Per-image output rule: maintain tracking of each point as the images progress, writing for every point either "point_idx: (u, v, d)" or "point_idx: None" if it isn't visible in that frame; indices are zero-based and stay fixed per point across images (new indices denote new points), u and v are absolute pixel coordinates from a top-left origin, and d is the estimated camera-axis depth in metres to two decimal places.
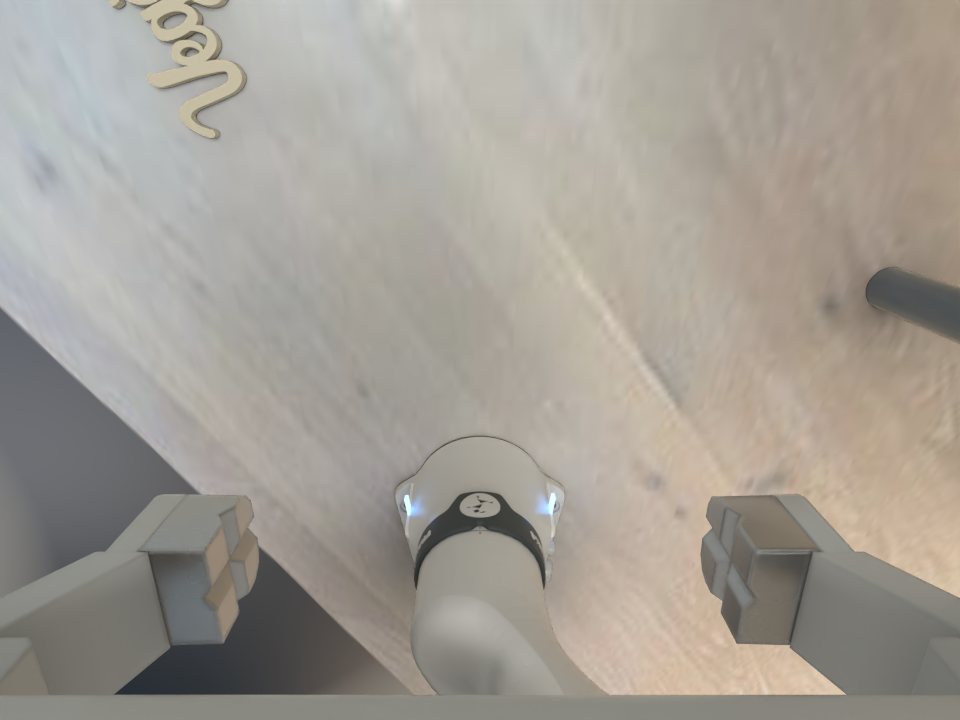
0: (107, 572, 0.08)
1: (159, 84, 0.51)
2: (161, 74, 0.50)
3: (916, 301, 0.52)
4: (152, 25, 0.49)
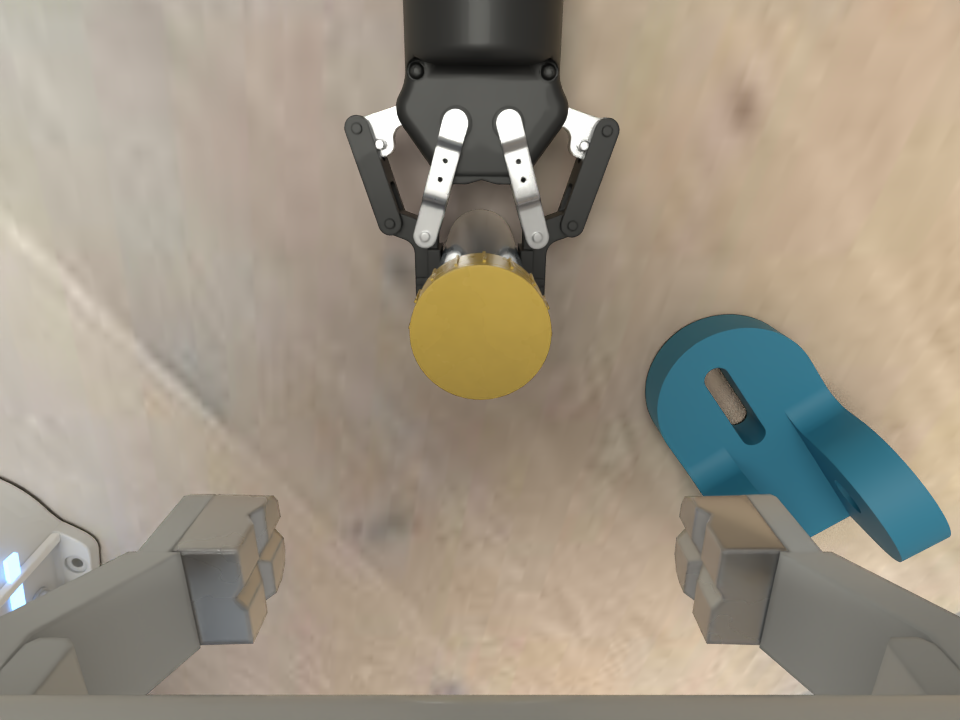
0: (141, 572, 0.08)
1: None
2: None
3: None
4: None
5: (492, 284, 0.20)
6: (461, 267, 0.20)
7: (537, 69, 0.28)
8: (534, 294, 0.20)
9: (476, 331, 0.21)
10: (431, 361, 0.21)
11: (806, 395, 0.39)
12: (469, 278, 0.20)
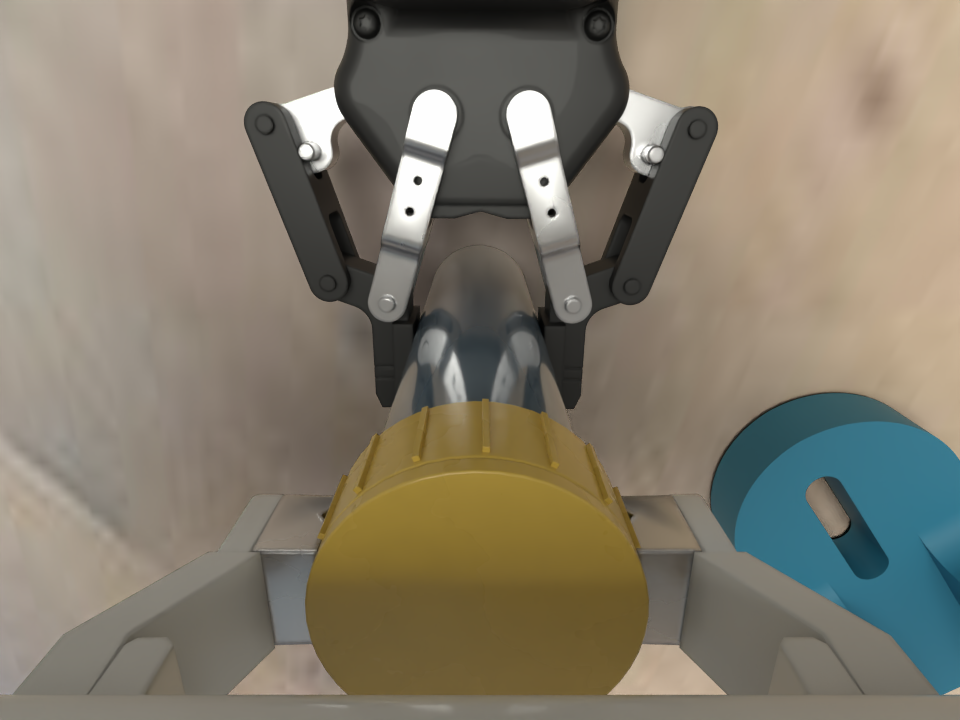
0: (225, 572, 0.08)
1: None
2: None
3: None
4: None
5: (507, 514, 0.08)
6: (428, 475, 0.08)
7: (578, 21, 0.16)
8: (612, 536, 0.08)
9: (467, 612, 0.08)
10: (361, 671, 0.09)
11: (952, 514, 0.27)
12: (448, 501, 0.08)
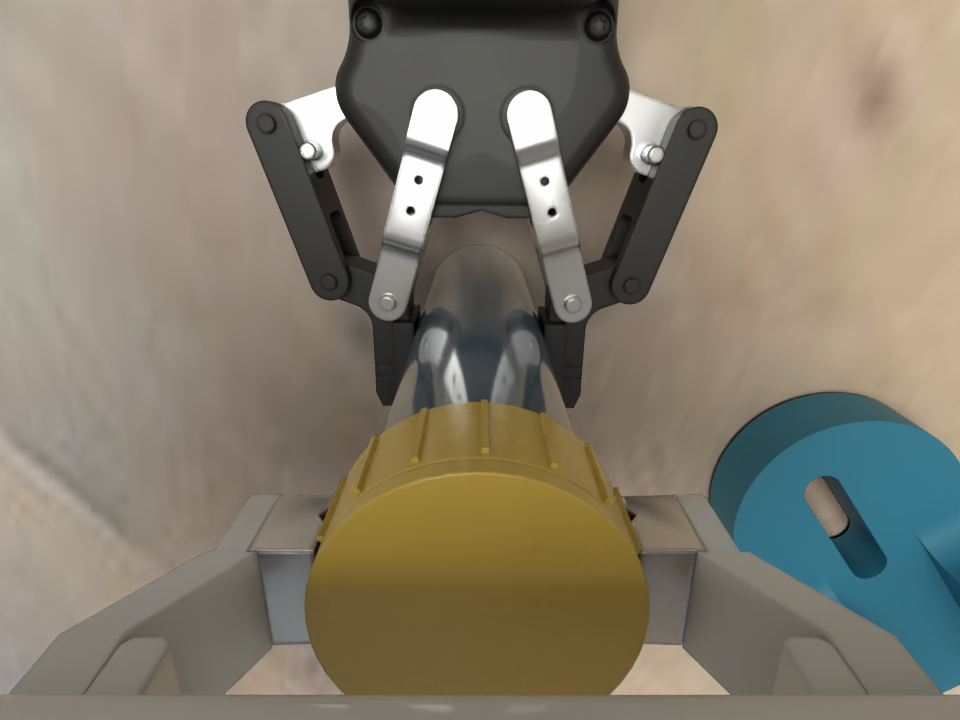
0: (221, 572, 0.08)
1: None
2: None
3: None
4: None
5: (365, 562, 0.08)
6: (305, 603, 0.08)
7: (578, 21, 0.16)
8: (424, 488, 0.08)
9: (464, 626, 0.09)
10: None
11: (950, 513, 0.27)
12: (334, 599, 0.08)
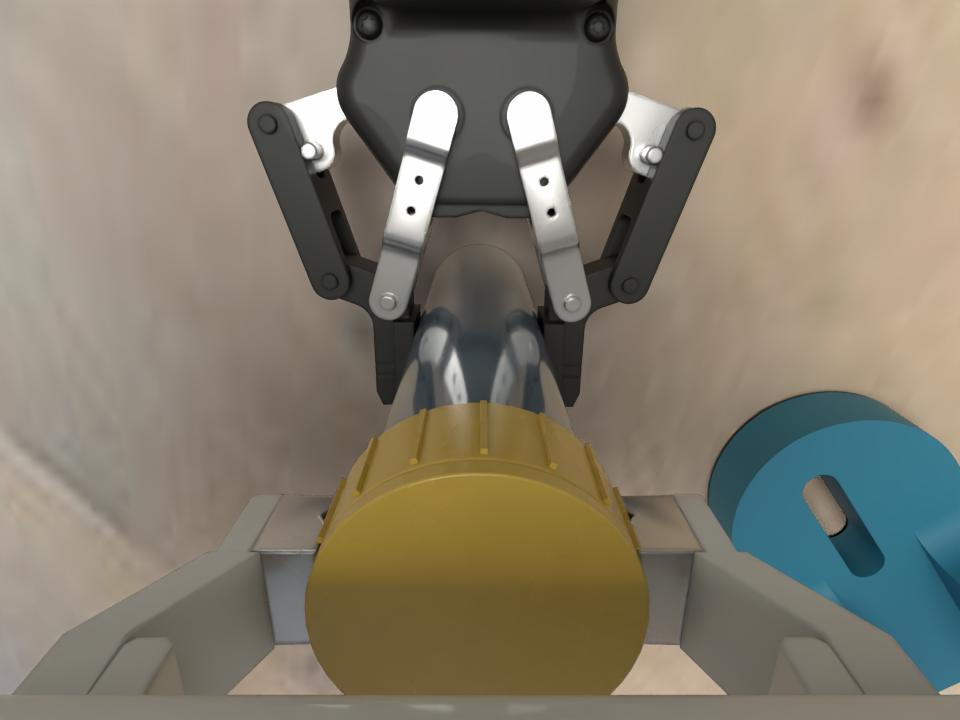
0: (224, 572, 0.08)
1: None
2: None
3: None
4: None
5: (373, 676, 0.09)
6: None
7: (578, 23, 0.16)
8: (312, 612, 0.08)
9: (477, 633, 0.09)
10: (608, 650, 0.09)
11: (947, 512, 0.27)
12: None
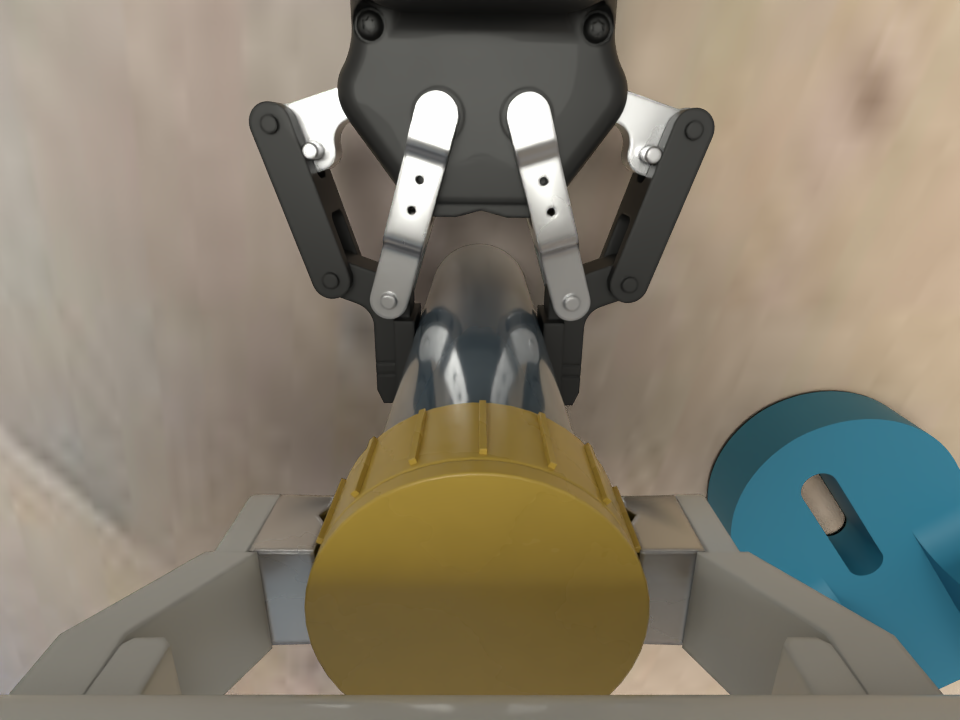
0: (222, 572, 0.08)
1: None
2: None
3: None
4: None
5: None
6: None
7: (577, 23, 0.16)
8: None
9: (490, 626, 0.09)
10: (566, 530, 0.08)
11: (945, 510, 0.27)
12: None
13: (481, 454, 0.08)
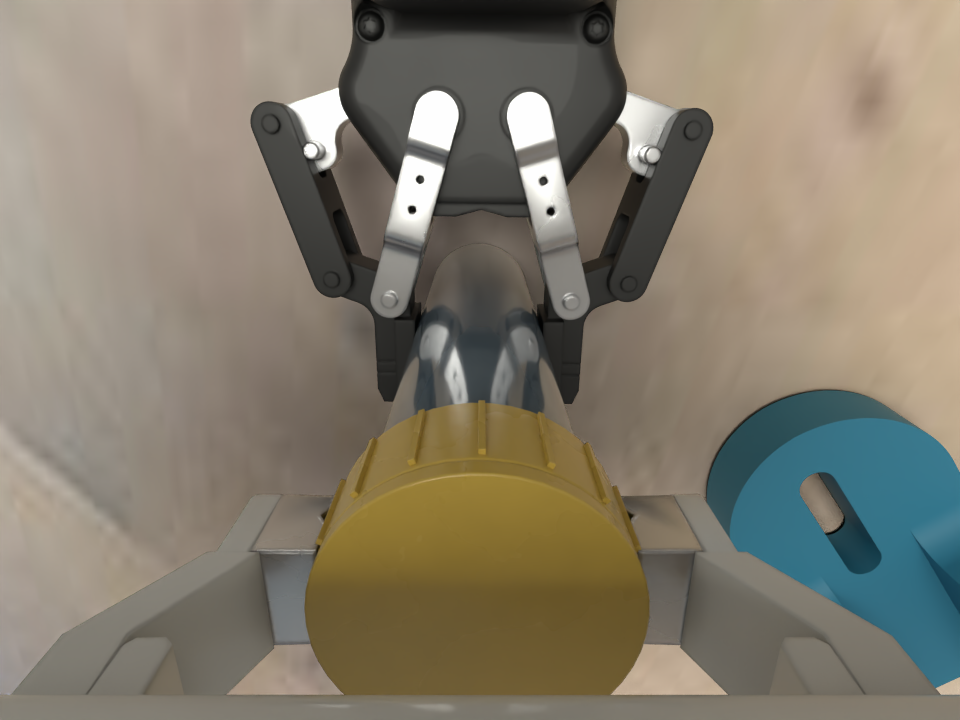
0: (224, 572, 0.08)
1: None
2: None
3: None
4: None
5: (602, 642, 0.09)
6: (646, 582, 0.08)
7: (577, 25, 0.16)
8: None
9: (487, 615, 0.08)
10: (400, 522, 0.08)
11: (943, 509, 0.27)
12: (619, 599, 0.08)
13: (321, 544, 0.09)
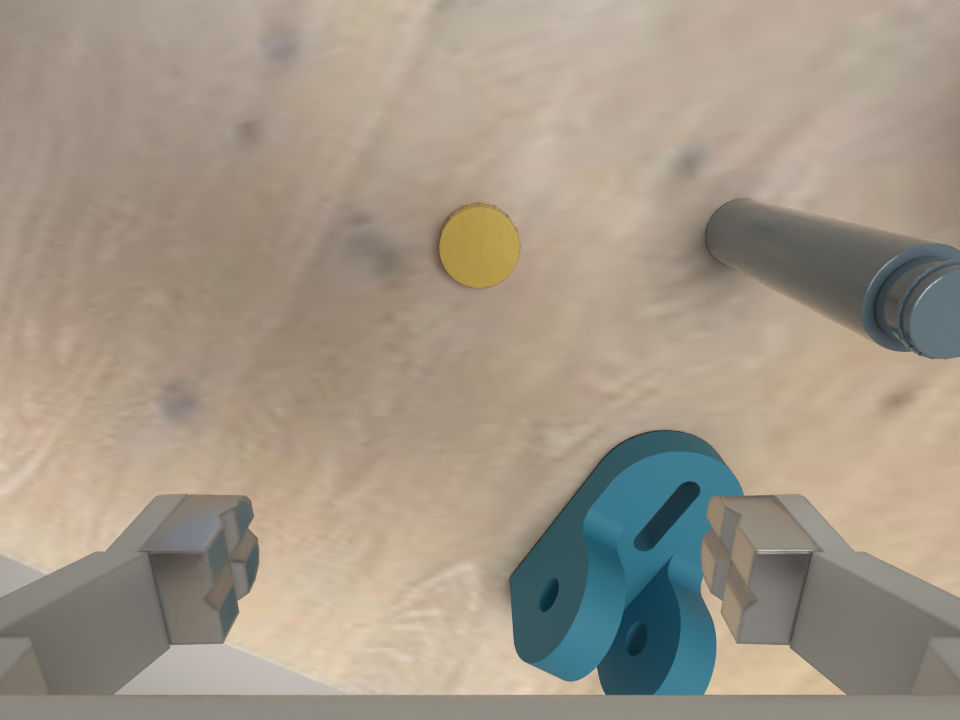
0: (107, 572, 0.08)
1: None
2: None
3: (792, 211, 0.31)
4: None
5: (496, 223, 0.36)
6: (483, 207, 0.36)
7: None
8: (516, 236, 0.36)
9: (478, 245, 0.36)
10: (447, 253, 0.36)
11: (693, 562, 0.43)
12: (485, 215, 0.36)
13: None
